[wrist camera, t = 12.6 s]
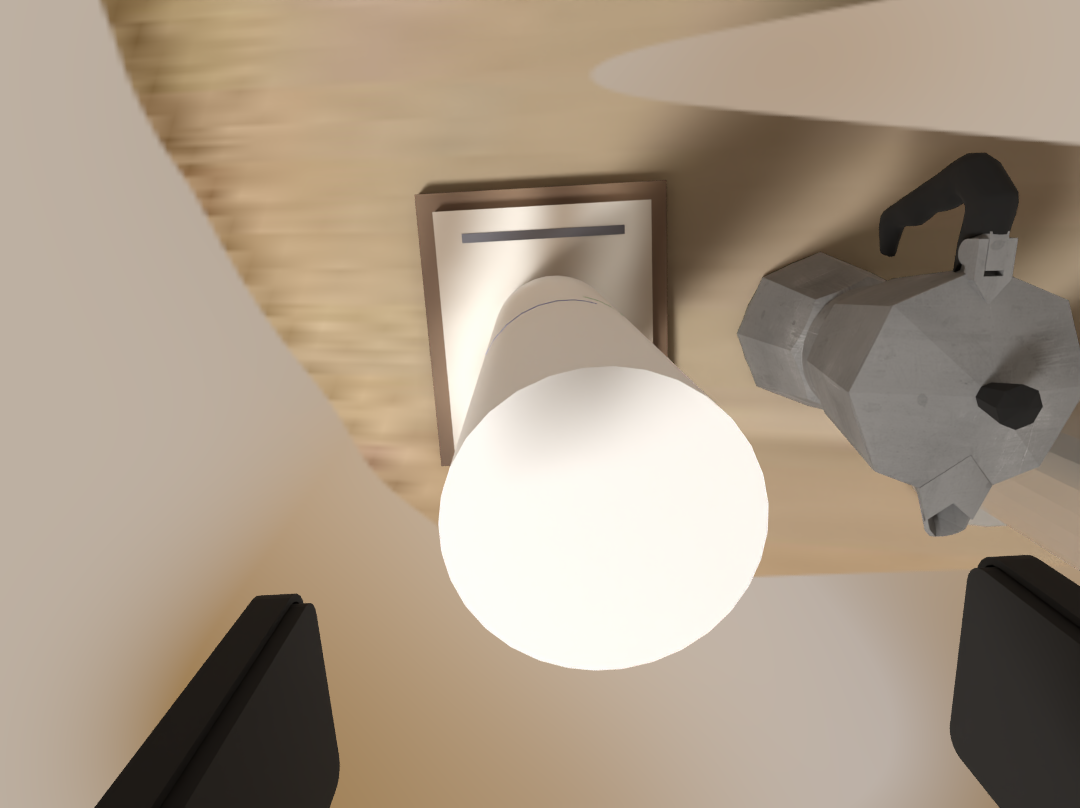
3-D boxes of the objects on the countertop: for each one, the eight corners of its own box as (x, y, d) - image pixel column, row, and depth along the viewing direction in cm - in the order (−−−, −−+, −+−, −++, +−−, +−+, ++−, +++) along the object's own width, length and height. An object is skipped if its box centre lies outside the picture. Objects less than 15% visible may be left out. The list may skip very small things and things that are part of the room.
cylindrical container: (494, 273, 38) (437, 360, 14) (621, 277, 38) (788, 371, 14) (492, 396, 40) (439, 667, 15) (613, 400, 40) (748, 673, 16)
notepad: (662, 181, 38) (669, 179, 37) (665, 447, 42) (671, 457, 41) (417, 195, 38) (411, 193, 36) (443, 460, 42) (439, 471, 41)
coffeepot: (877, 432, 42) (1121, 576, 25) (729, 436, 42) (870, 584, 25) (905, 174, 39) (1217, 134, 21) (741, 179, 38) (919, 142, 21)
